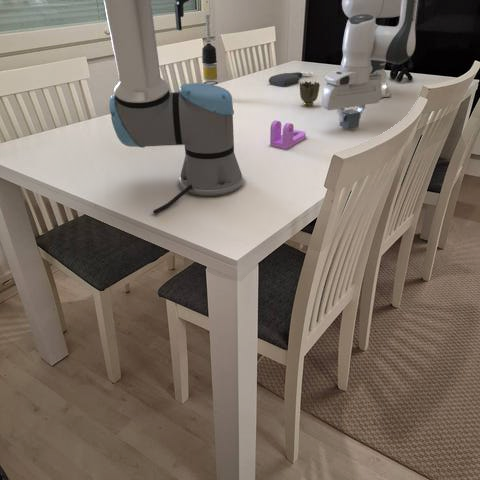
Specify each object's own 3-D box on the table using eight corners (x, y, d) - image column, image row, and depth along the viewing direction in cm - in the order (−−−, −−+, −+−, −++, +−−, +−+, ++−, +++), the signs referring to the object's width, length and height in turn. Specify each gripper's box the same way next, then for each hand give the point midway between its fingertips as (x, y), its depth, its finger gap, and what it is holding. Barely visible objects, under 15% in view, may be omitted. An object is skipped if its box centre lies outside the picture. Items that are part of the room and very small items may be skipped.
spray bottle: (266, 83, 198) (296, 74, 214) (286, 87, 192) (316, 77, 208) (266, 76, 197) (297, 68, 213) (287, 80, 191) (316, 71, 207)
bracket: (286, 149, 129) (287, 125, 125) (270, 145, 132) (270, 122, 128) (308, 136, 138) (309, 114, 134) (292, 133, 141) (294, 111, 137)
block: (350, 123, 146) (352, 109, 144) (358, 127, 143) (360, 112, 140) (339, 125, 145) (341, 110, 142) (347, 129, 141) (349, 114, 139)
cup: (295, 106, 166) (296, 84, 162) (302, 102, 172) (303, 80, 168) (314, 109, 163) (316, 86, 159) (321, 104, 169) (322, 82, 165)
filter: (220, 99, 177) (217, 15, 161) (206, 100, 176) (202, 16, 160) (215, 96, 182) (212, 14, 166) (202, 97, 180) (197, 14, 164)
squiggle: (400, 92, 202) (376, 71, 205) (417, 76, 202) (392, 56, 205) (405, 81, 191) (380, 59, 194) (423, 64, 191) (397, 42, 194)
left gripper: (187, -58, 123) (193, 27, 134) (95, -58, 115) (109, 33, 126) (196, -59, 117) (201, 29, 128) (100, -59, 109) (114, 36, 120)
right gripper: (375, 69, 141) (369, 113, 148) (320, 76, 134) (317, 121, 142) (389, 73, 136) (382, 118, 144) (332, 80, 129) (328, 127, 137)
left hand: (156, 31), depth 127 cm, fingers open, 13 cm apart
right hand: (349, 120), depth 143 cm, fingers closed on block, 4 cm apart
